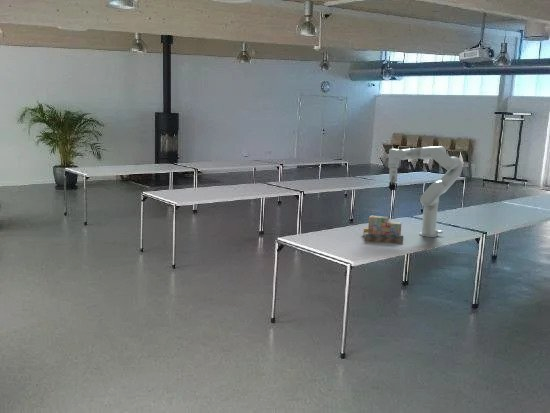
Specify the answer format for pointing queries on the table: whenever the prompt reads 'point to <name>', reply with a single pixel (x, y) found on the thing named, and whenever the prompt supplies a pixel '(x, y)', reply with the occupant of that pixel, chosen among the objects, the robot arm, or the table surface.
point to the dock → (382, 238)
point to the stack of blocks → (383, 226)
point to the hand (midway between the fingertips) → (392, 189)
